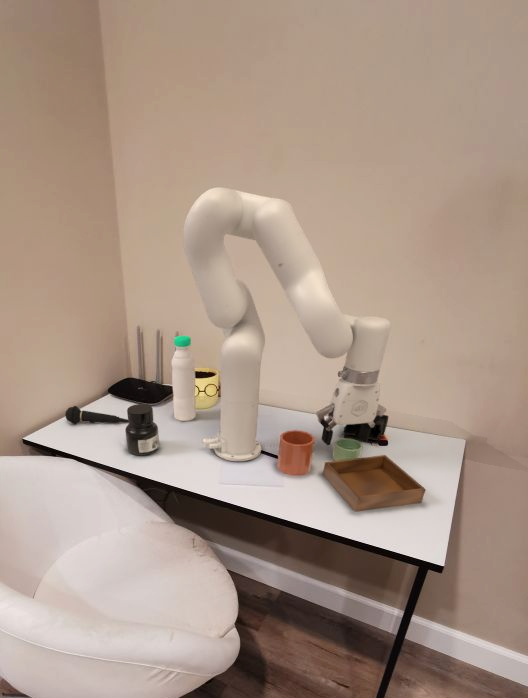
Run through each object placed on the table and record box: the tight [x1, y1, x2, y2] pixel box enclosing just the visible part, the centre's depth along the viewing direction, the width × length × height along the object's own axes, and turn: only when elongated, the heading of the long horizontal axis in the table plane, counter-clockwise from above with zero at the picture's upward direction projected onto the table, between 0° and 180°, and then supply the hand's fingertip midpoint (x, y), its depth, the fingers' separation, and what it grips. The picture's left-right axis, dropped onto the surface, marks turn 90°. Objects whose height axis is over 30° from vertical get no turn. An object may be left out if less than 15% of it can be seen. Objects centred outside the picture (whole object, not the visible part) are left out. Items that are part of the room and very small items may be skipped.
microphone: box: [64, 405, 129, 425], centre depth 135 cm, size 6×6×20 cm
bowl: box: [331, 437, 363, 461], centre depth 109 cm, size 6×6×4 cm
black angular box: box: [342, 414, 389, 445], centre depth 118 cm, size 10×7×7 cm
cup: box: [276, 429, 316, 477], centre depth 105 cm, size 8×8×8 cm
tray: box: [322, 454, 426, 513], centre depth 98 cm, size 15×15×4 cm
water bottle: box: [170, 335, 197, 422], centre depth 130 cm, size 7×7×25 cm
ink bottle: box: [125, 403, 160, 456], centre depth 117 cm, size 10×9×12 cm
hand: (344, 441), depth 107 cm, fingers open, 9 cm apart
